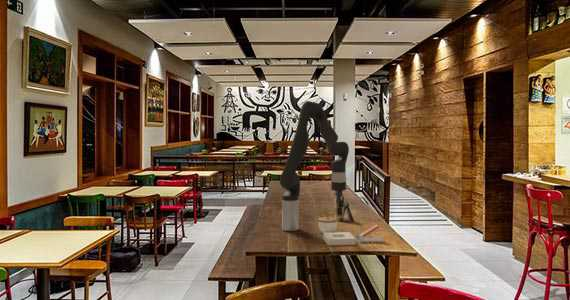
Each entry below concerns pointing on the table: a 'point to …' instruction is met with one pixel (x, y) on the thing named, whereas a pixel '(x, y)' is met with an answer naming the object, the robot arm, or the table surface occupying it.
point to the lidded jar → (327, 224)
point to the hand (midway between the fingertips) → (338, 214)
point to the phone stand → (347, 213)
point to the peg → (337, 210)
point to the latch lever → (369, 231)
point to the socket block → (339, 238)
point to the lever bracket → (367, 239)
